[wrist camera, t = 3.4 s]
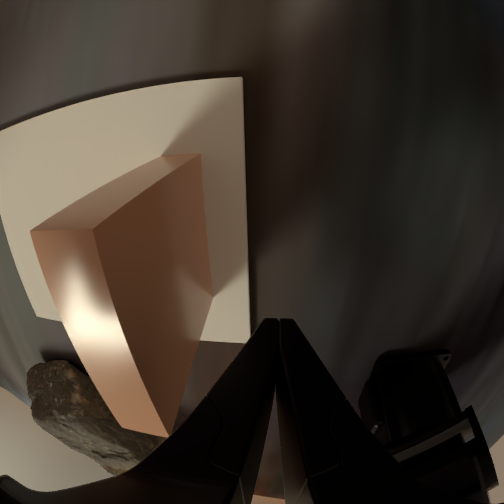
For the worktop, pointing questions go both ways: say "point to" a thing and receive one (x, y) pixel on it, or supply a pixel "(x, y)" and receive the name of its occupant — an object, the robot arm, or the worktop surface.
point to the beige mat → (124, 160)
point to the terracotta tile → (134, 285)
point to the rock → (84, 417)
